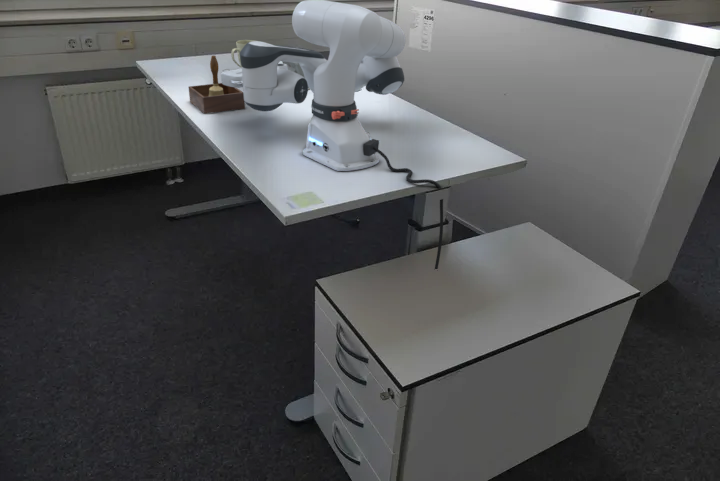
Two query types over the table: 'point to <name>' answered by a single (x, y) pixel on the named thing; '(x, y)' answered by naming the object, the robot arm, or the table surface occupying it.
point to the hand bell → (215, 78)
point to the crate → (216, 98)
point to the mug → (239, 49)
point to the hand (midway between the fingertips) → (237, 69)
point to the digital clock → (294, 68)
